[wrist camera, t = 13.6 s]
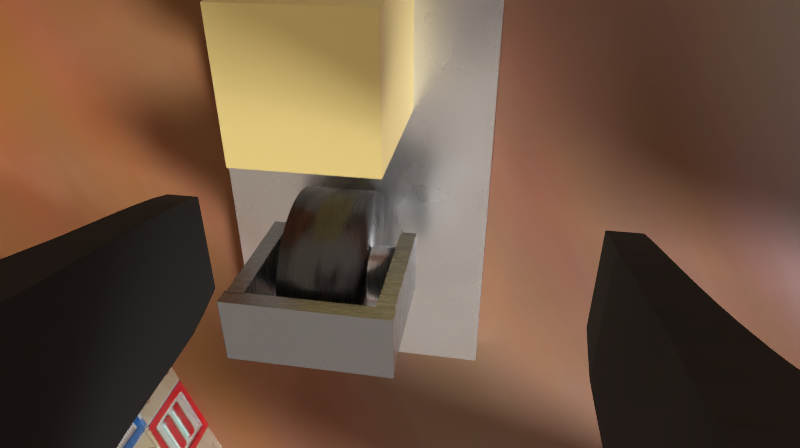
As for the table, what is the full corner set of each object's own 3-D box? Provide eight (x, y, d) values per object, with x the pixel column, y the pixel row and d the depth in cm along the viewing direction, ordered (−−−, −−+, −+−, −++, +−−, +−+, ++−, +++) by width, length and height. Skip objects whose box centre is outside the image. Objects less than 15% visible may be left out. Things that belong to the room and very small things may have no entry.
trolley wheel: (510, -69, 17) (503, -34, 11) (477, 343, 25) (462, 495, 19) (207, -73, 18) (56, -43, 12) (263, 319, 26) (186, 454, 20)
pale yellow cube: (414, -28, 17) (378, 7, 13) (413, 109, 19) (381, 179, 15) (277, -31, 18) (199, 1, 13) (290, 102, 20) (226, 167, 15)
